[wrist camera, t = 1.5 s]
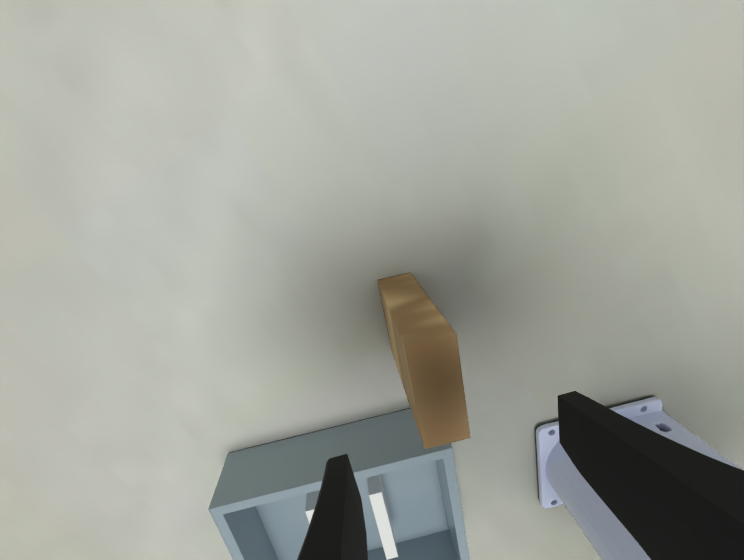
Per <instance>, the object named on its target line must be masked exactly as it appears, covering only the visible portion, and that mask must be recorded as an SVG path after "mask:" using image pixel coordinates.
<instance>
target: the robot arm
mask: <svg viewBox="0 0 744 560" xmlns="http://www.w3.org/2000/svg"><path fill="white" fill-rule="evenodd" d="M558 416H559V421H557V422H553V423H549V424H545V425H541V426H539V427H538V428H537V430H536V445H537V464H538V482H539V501H540V504H541V506H542V507H543V508H551V507H555V506H559V505H563V504H564V505H565V507H566V508H567V510H568V511H569V513H570V514H571V515H572V517H573V518H574V520H575V521H576V523H577V524H578V526H579V527H580V528H581V530H582V531H583V533H584V534H585V536H586V537H587V539H588V540H589V542H590V543H591V544H592V546H593V547H594V549H595V550H596V552H597V553H598V555H599V556H600V557H601V559H602V560H744V470H742V469H740V468H739V467H738V466H736V465H735V464H734V463H732V462H731V461H729V460H728V459H727V458H725V457H724V456H723V455H721V454H720V453H719V452H717V451H716V450H715V449H713V448H712V447H710V446H709V445H708V444H706V443H705V442H704V441H702V440H701V439H700V438H698V437H697V436H696V435H694V434H693V433H692V432H690V431H689V430H687V429H686V428H685V427H683V426H682V425H681V424H679V423H678V422H677V421H675V420H674V419H673V418H671V417H670V416H668V415H667V414H666V413H664V412H663V411H662V401H661V400H660V399H658V398H657V397H652V398H648V399H644V400H640V401H636V402H632V403H628V404H624V405H620V406H616V407H612V408H607V407H605V406H603V405H601V404H599V403H597V402H596V401H594V400H592V399H590V398H588V397H586V396H584V395H582V394H580V393H578V392H576V391H573V392H570V393H566V394H562V395H559V396H558ZM550 430H551V431H550ZM297 560H368V551H367V534H366V527H365V520H364V513H363V506H362V499H361V496H360V492H359V489H358V486H357V483H356V480H355V477H354V473H353V470H352V467H351V464H350V461H349V458H348V454H344V455H340V456H336V457H333V458H329V459H328V461H327V462H326V467H325V472H324V476H323V480H322V484H321V488H320V492H319V495H318V499H317V503H316V506H315V509H314V512H313V515H312V519H311V522H310V525H309V528H308V531H307V534H306V537H305V539H304V542H303V545H302V548H301V550H300V553H299V556H298V558H297Z"/></svg>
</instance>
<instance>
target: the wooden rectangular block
mask: <svg viewBox="0 0 744 560" xmlns="http://www.w3.org/2000/svg"><path fill="white" fill-rule="evenodd" d="M377 281H378V286H379V291H380V295H381V300H382V305H383V310H384V315H385V320H386V324H387V329H388V334H389V339H390V344H391V349H392V353H393V356H394V359H395V362H396V365H397V368H398V371H399V374H400V377H401V380H402V383H403V386H404V389H405V392H406V395H407V398H408V401H409V404H410V407H411V410H412V413H413V416H414V419H415V422H416V425H417V428H418V431H419V434H420V437H421V440H422V443H423V446H424V449H428V448H432V447H436V446H440V445H444V444H448V443H452V442H456V441H460V440H464V439H468V438H470V431H469V424H468V416H467V409H466V401H465V394H464V386H463V379H462V372H461V364H460V357H459V349H458V342H457V334H456V333H455V332H454V330H453V329H452V328H451V326H450V325H449V324H448V322H447V321H446V320H445V318H444V317H443V316H442V314H441V313H440V312H439V310H438V309H437V308H436V306H435V305H434V304H433V302H432V301H431V299H430V298H429V297H428V295H427V294H426V293H425V291H424V290H423V289H422V287H421V286H420V285H419V283H418V282H417V281H416V279H415V278H414V277H413V275H412V274H411V273H406V274H401V275H397V276H392V277H388V278H384V279H379V280H377Z"/></svg>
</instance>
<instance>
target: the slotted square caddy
mask: <svg viewBox="0 0 744 560" xmlns="http://www.w3.org/2000/svg"><path fill="white" fill-rule="evenodd" d="M344 454H348V458H349V461H350V464H351V467H352V470H353V473H354V477H355V480H356V483H357V486H358V489H359V492H360V496H361V499H362V506H363V513H364V520H365V527H366V534H367V551H368V560H470V557H469V551H468V545H467V538H466V532H465V526H464V519H463V513H462V507H461V500H460V494H459V488H458V481H457V475H456V468H455V462H454V456H453V449H452V446H451V444H450V443H448V444H444V445H440V446H436V447H432V448H428V449H424V446H423V443H422V440H421V437H420V434H419V431H418V428H417V425H416V422H415V419H414V416H413V413H412V410H411V408H410V409H406V410H402V411H398V412H394V413H390V414H385V415H381V416H377V417H373V418H369V419H365V420H361V421H357V422H353V423H349V424H345V425H341V426H337V427H333V428H329V429H325V430H321V431H317V432H312V433H308V434H304V435H300V436H296V437H292V438H288V439H284V440H280V441H276V442H272V443H268V444H264V445H260V446H256V447H252V448H248V449H243V450H239V451H235V452H231V453H228V455H227V458H226V461H225V464H224V467H223V470H222V472H221V475H220V478H219V481H218V484H217V487H216V489H215V492H214V495H213V498H212V501H211V503H210V506H209V509H208V510H209V512H210V514H211V516H212V518H213V520H214V522H215V524H216V526H217V528H218V530H219V532H220V534H221V536H222V538H223V540H224V542H225V544H226V546H227V548H228V550H229V552H230V554H231V557H232V559H233V560H297V558H298V556H299V553H300V550H301V548H302V545H303V542H304V539H305V537H306V534H307V531H308V528H309V525H310V522H311V519H312V515H313V512H314V509H315V506H316V503H317V499H318V495H319V492H320V488H321V484H322V480H323V476H324V472H325V467H326V462H327V461H328V459H329V458H333V457H336V456H340V455H344Z"/></svg>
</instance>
